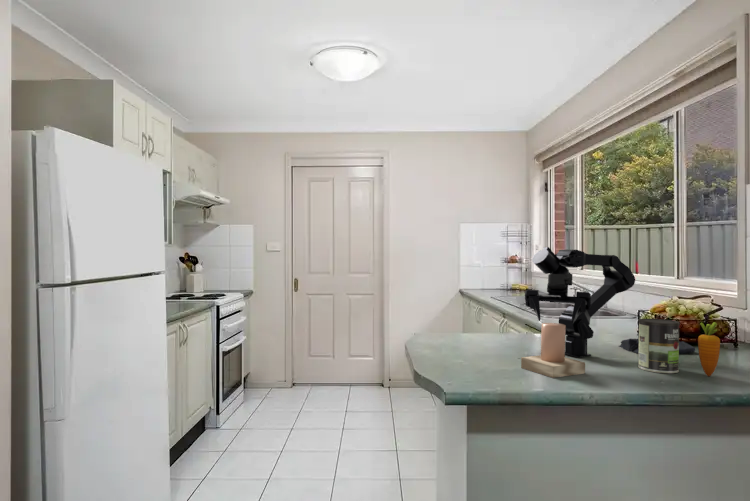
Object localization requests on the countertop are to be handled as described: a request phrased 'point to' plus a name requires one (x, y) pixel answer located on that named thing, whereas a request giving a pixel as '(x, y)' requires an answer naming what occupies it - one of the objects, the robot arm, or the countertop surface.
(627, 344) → the dark slate chunk
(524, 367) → the oak slab
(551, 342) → the terracotta canister
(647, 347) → the coffee can
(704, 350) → the carrot
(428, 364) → the countertop surface
